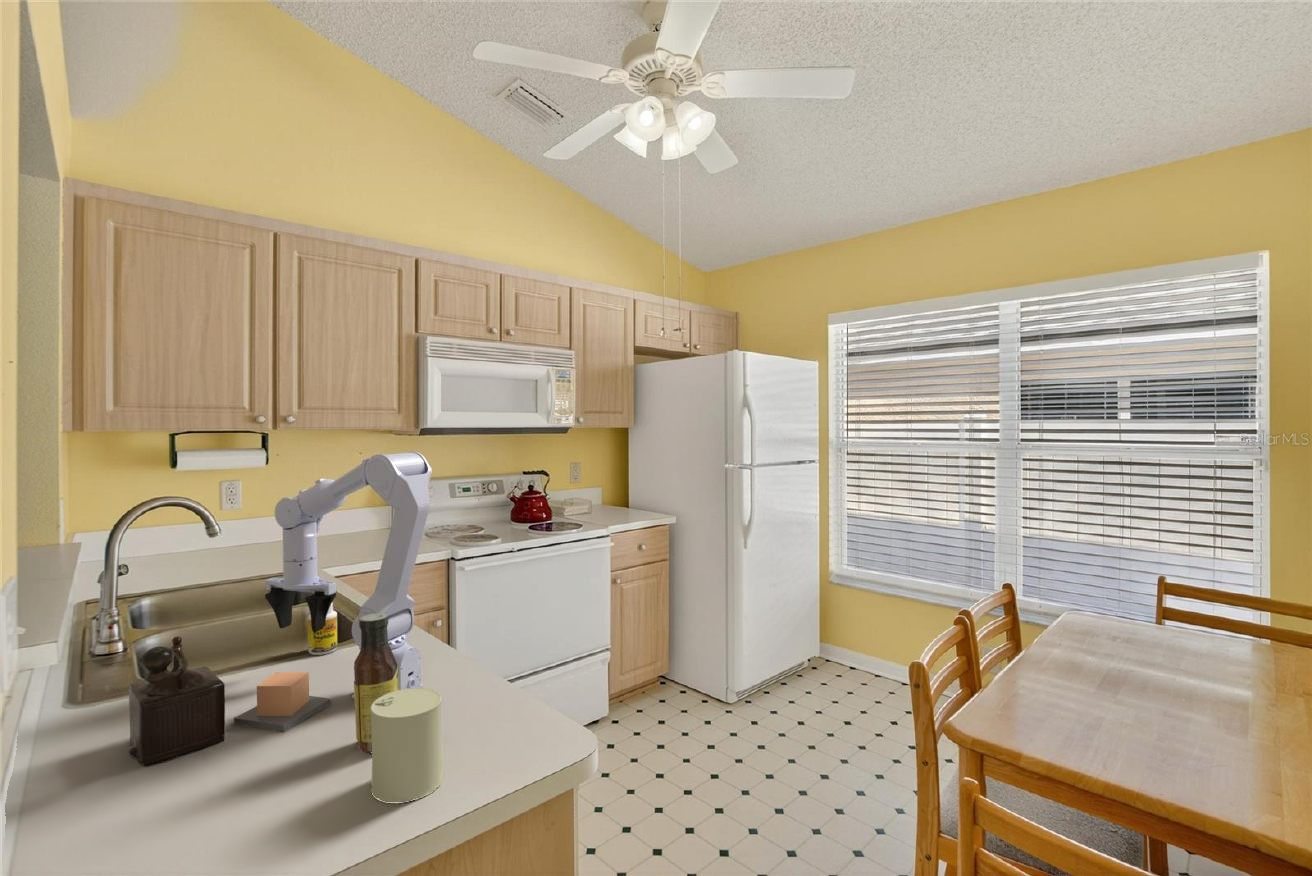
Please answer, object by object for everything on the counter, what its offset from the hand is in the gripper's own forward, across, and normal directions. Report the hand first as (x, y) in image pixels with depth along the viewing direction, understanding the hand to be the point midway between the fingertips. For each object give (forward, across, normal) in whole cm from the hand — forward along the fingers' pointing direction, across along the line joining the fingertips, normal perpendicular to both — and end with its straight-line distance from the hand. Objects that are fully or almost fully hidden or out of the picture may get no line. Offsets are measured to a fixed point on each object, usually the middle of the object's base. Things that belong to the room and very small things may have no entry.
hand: (301, 628), depth 123 cm
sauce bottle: (+10, -31, +18) cm, 37 cm away
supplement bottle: (+10, +6, -12) cm, 16 cm away
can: (+10, -42, +26) cm, 50 cm away
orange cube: (+8, -9, +14) cm, 18 cm away
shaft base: (+9, -9, +14) cm, 19 cm away
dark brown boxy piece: (+10, -3, +27) cm, 29 cm away
